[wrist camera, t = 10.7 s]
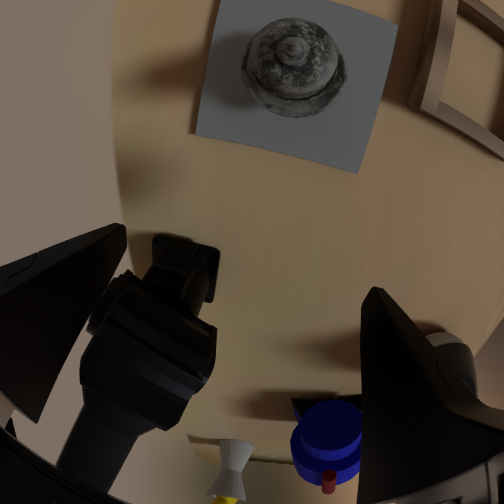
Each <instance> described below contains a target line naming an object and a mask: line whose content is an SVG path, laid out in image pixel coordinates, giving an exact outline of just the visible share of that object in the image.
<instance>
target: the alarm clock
mask: <svg viewBox="0 0 504 504" xmlns="http://www.w3.org/2000/svg"><path fill="white" fill-rule="evenodd" d="M291 401H292V404H293V408H294V412H295V415H296V419H297V422H298V425H297V426H296V428H295V429H294V430H293V433H292V436H291V439H290V444H291V453H292V457H293V461H294V466H295V468H296V470H297V472H298V474H299V475H300V476H301V477H302V478H303V479H305V480H306V481H307V482H309V483H312V484H314V485H317V486H322V491H323V493H324V494H331V493H333V492H334V490H335V486H336V485H338V484H342V483H344V482H346V481H348V480H350V479H352V478H353V477H354V476H355V475H356V474H357V473H358V472H359V471H360V455H361V434H362V397H360V398H358V399H356V400H354V401H352V402H350V403H349V402H345V401H342V400H329V401H323V402H321V403H318V404H316V405H314V406H313V405H310V404H307V403H304V402H301V401H298V400H295V399H292V398H291Z"/></svg>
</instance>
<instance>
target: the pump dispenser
mask: <svg viewBox="0 0 504 504" xmlns="http://www.w3.org/2000/svg"><path fill="white" fill-rule="evenodd" d="M426 338H427V339H428V340H429V341H430V342H431V344H432V345H433V346H434V347H435V349H436V350H437V351H438V353H440V355H441V356H442V357H443V358H444V360H445V361H446V362H447V363H448V364H449V366H450V367H451V368H452V369H453V370H454V372H455V373H456V374H457V375H458V376H459V377H460V378H461V380H462V381H463V382H464V383H465V384H466V385H467V386H468V388H469V389H470V390H471V391H472V392H473V393H474V394H475V396H476V397H477V398H478V383H477V374H476V369H475V363H474V358H473V355H472V352H471V350H470V348H469V347H468V346H467V345H466V344H464V343H463V341H462V340H461V339H459V338H458V337H457V336H455V335H453V334H450V333H446V332H437V333H432V334H429V335H426Z"/></svg>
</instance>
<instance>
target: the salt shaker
mask: <svg viewBox="0 0 504 504" xmlns="http://www.w3.org/2000/svg"><path fill="white" fill-rule="evenodd" d="M348 71H349V70H348V64H347V59H346V56H345V54H344V52H343V50H342V48H341V46H340V45H339V44H338V42H337V41H336V40H335V39H334V38H333V37H332V36H331V35H330V34H329V33H327V32H326V31H325V30H324V28H322V27H321V26H319V25H318V24H316V23H314V22H312V21H309V20H306V19H303V18H293V17H290V18H283V19H278V20H276V21H273V22H271V23H269V24H268V25H266V26H265V27H263V28H262V29H261V30H260V31H259V32H258V33H257V34H255V35H254V36H253V37H252V39H251V40H250V41H249V43H248V44H247V45H246V47H245V50H244V53H243V55H242V59H241V74H242V79H243V83H244V85H245V87H246V89H247V90H248V92H249V94H250V95H251V96H252V97H253V99H254V100H255V101H256V102H257V103H258V104H259V105H261V106H262V107H264V108H265V109H267V110H268V111H270V112H272V113H275V114H278V115H281V116H284V117H292V118H302V117H311V116H314V115H316V114H319V113H322V112H324V111H325V110H327V109H328V108H330V107H331V106H333V105H334V104H335V103H336V102H337V100H338V99H339V98H340V97H341V96H342V94H343V92H344V89H345V87H346V85H347V80H348Z"/></svg>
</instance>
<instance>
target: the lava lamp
mask: <svg viewBox="0 0 504 504" xmlns="http://www.w3.org/2000/svg"><path fill="white" fill-rule="evenodd" d="M219 445H220V454H221V462H222V471H221V473H220V474H219V476H218V477H217V479H216V480H215V482H214V483H213V484H212V486H211V487H210V489H209V490H208V492H207V495H210V496H213V497H217V499H215V500H214V501H213V502H212V504H235V503H236V502H237V501H246V497H245V493H244V488H243V483H242V478H241V471H242V469H243V468H244V466H245V464H246V462H247V461H248V459H249V457H250V455H251V453H252V452H253V450H254V448H255V447H254V445H252V444H250V443H247V442H244V441H239V440H233V439H222V440H220V441H219Z"/></svg>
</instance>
